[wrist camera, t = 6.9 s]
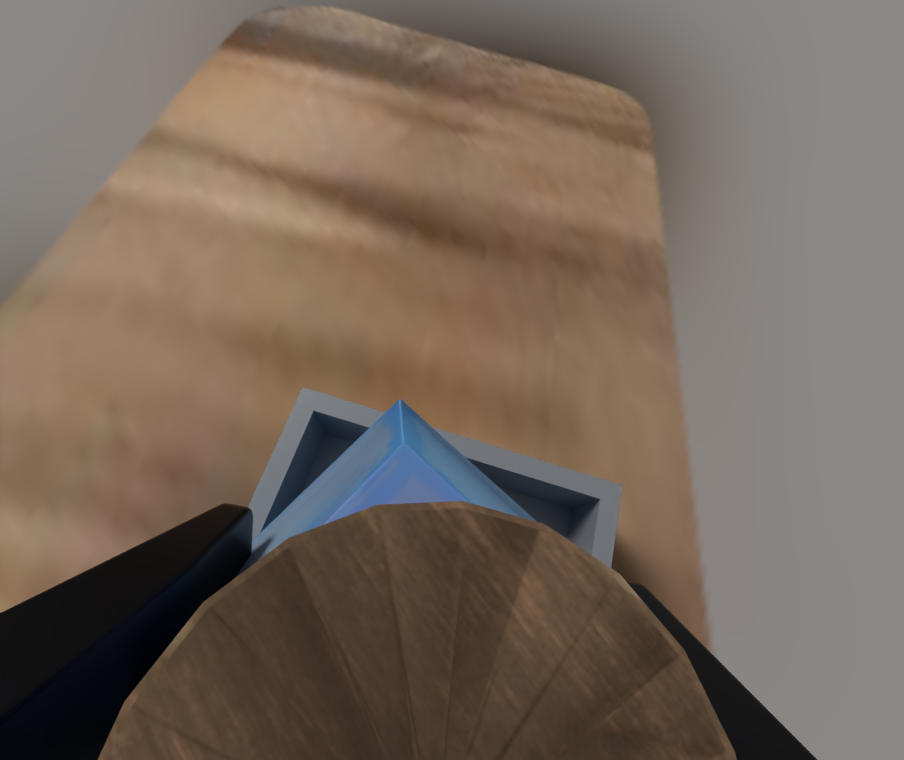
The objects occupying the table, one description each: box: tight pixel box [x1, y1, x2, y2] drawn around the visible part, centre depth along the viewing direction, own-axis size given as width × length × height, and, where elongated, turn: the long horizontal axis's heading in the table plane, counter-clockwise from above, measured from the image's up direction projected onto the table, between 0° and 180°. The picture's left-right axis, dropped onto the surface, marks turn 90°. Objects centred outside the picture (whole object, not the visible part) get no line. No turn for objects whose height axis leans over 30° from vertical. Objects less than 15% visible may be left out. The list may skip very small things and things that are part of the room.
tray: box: [248, 387, 622, 568], centre depth 14 cm, size 10×10×3 cm
